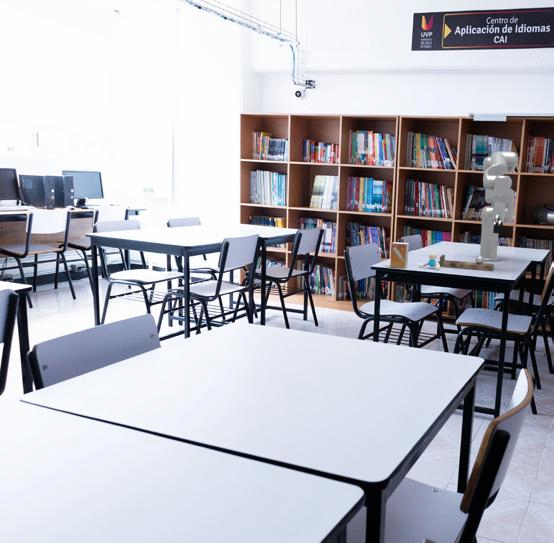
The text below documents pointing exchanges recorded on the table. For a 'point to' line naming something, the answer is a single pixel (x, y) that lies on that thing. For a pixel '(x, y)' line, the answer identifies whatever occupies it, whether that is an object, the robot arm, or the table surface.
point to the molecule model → (431, 262)
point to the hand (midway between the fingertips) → (497, 232)
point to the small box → (399, 255)
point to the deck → (465, 265)
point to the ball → (479, 260)
